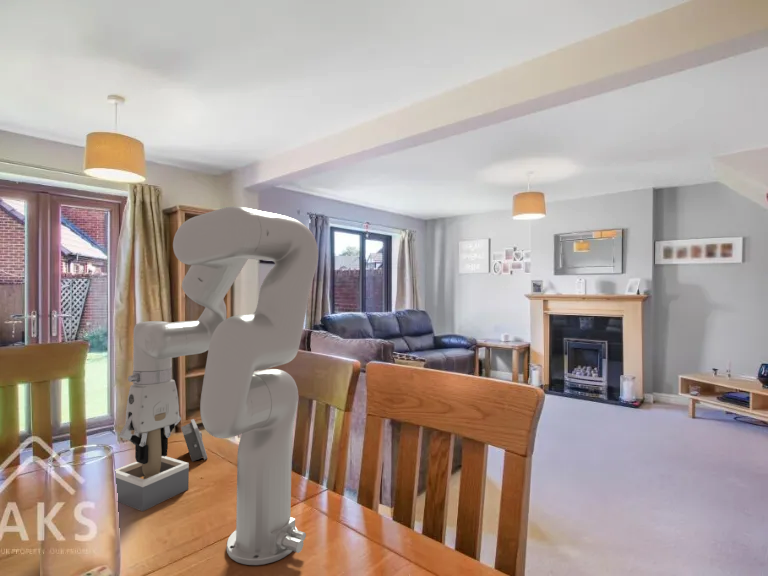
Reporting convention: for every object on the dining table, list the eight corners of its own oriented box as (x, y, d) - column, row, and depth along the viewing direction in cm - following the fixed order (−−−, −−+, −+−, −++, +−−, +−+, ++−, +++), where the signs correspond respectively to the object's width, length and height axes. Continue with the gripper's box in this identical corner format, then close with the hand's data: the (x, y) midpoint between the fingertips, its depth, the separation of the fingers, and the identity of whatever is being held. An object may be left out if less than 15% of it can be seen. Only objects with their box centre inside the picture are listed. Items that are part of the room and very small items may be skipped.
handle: (147, 487, 91) (148, 417, 91) (133, 479, 94) (133, 412, 94) (169, 479, 95) (170, 412, 95) (154, 471, 98) (155, 407, 98)
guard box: (188, 489, 97) (188, 463, 97) (142, 511, 87) (142, 482, 87) (157, 478, 102) (157, 453, 102) (110, 498, 92) (110, 471, 92)
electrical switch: (207, 460, 113) (204, 426, 113) (186, 466, 111) (183, 431, 110) (203, 448, 121) (200, 416, 121) (183, 453, 119) (180, 421, 118)
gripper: (125, 386, 85) (124, 477, 85) (195, 372, 100) (195, 449, 100) (103, 382, 89) (102, 469, 89) (174, 369, 104) (174, 443, 104)
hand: (151, 457), depth 95 cm, fingers closed on handle, 3 cm apart
